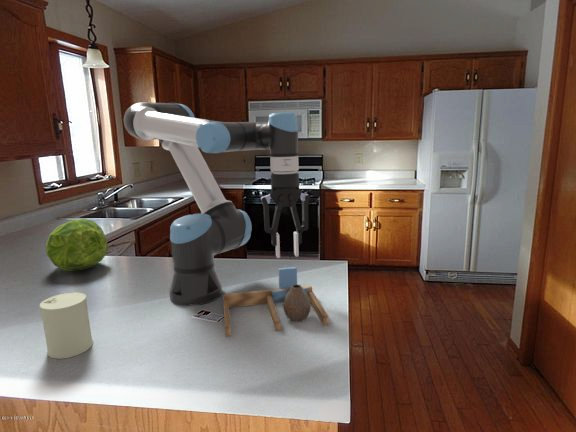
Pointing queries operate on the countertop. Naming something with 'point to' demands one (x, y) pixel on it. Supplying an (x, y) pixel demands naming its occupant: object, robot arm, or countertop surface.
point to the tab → (287, 277)
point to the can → (66, 325)
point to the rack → (268, 304)
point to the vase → (296, 304)
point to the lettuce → (77, 245)
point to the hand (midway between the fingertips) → (287, 255)
